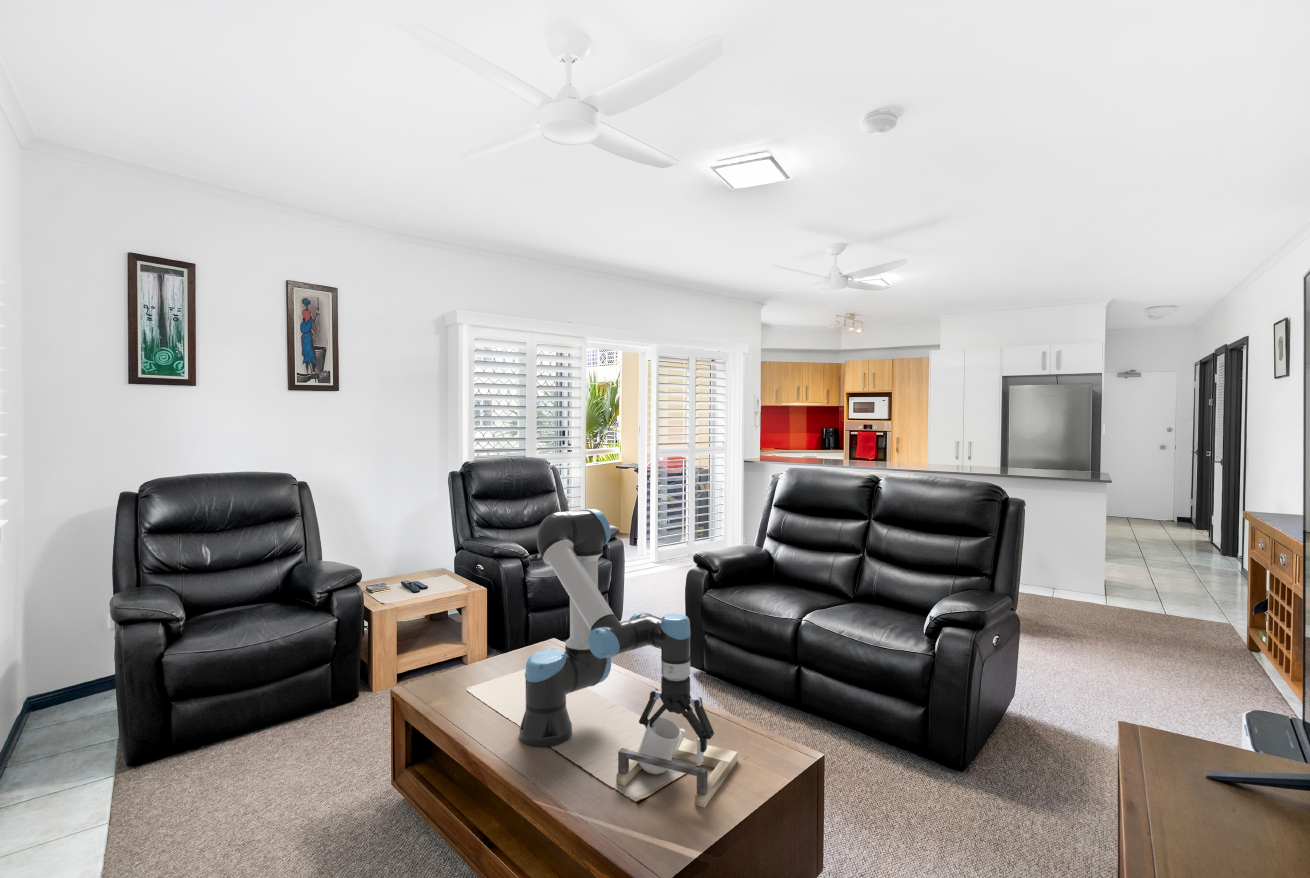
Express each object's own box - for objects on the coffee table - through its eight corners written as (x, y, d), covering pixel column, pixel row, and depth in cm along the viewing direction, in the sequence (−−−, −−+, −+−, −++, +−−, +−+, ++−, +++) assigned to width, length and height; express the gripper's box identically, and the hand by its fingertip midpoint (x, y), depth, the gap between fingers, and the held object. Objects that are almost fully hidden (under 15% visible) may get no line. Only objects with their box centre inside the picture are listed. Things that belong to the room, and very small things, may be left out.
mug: (646, 779, 164) (660, 741, 162) (629, 754, 170) (642, 718, 169) (682, 771, 171) (696, 735, 169) (664, 748, 178) (677, 713, 176)
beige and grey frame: (616, 783, 163) (616, 752, 163) (657, 742, 185) (657, 714, 185) (704, 807, 153) (704, 774, 153) (737, 761, 174) (737, 731, 174)
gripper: (626, 672, 169) (626, 753, 169) (715, 689, 158) (715, 775, 158) (639, 663, 175) (639, 740, 176) (726, 678, 164) (726, 761, 165)
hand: (675, 757), depth 167 cm, fingers open, 13 cm apart
